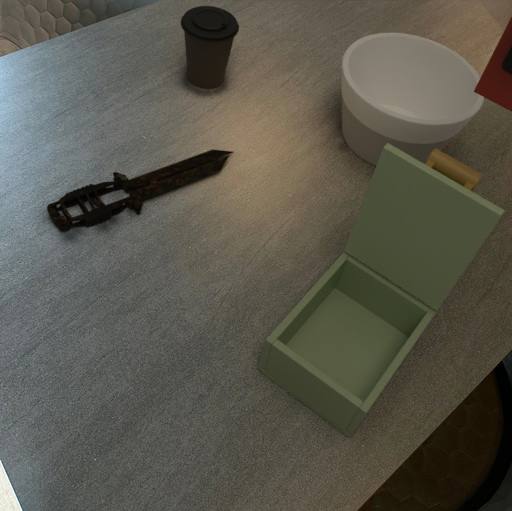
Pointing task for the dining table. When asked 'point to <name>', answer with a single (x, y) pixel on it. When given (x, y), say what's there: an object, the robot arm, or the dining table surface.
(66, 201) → the knife
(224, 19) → the coffee cup
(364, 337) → the chest
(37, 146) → the dining table surface
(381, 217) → the lid
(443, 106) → the bowl
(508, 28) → the block
